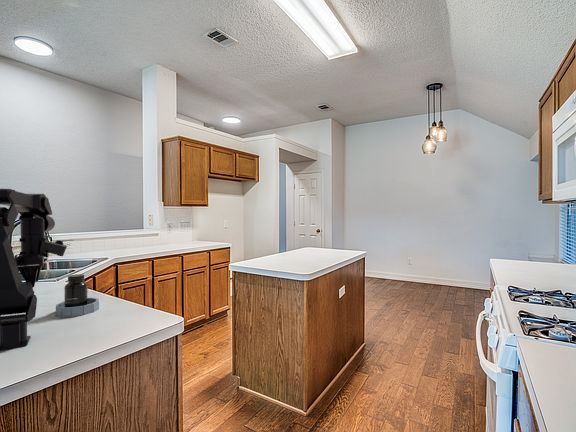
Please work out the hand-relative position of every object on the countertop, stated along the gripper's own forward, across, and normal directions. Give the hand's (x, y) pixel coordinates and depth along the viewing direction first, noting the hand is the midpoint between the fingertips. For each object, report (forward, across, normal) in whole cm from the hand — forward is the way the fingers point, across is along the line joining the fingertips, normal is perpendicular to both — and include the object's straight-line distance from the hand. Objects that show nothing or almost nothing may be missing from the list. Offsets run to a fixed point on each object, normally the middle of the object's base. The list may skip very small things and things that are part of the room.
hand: (33, 284), depth 96 cm
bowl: (+13, +10, -11) cm, 20 cm away
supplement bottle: (+12, +10, -10) cm, 19 cm away
